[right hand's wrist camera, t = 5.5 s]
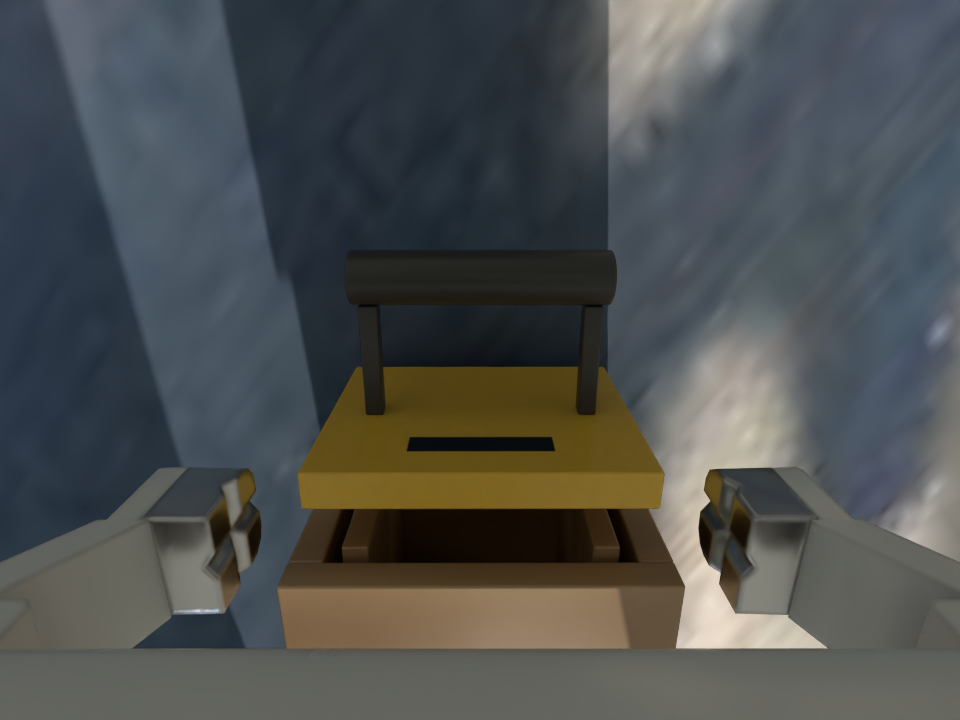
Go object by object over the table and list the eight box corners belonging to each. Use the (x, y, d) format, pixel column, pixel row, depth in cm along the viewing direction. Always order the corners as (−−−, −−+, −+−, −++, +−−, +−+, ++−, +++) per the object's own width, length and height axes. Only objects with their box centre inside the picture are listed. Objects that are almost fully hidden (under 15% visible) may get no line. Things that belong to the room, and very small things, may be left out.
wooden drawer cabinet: (352, 421, 25) (275, 587, 16) (607, 421, 25) (686, 586, 16) (379, 744, 33) (338, 994, 23) (579, 743, 33) (622, 994, 23)
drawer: (345, 231, 22) (271, 277, 14) (615, 231, 22) (691, 277, 14) (383, 704, 30) (350, 897, 22) (576, 704, 30) (610, 896, 22)
